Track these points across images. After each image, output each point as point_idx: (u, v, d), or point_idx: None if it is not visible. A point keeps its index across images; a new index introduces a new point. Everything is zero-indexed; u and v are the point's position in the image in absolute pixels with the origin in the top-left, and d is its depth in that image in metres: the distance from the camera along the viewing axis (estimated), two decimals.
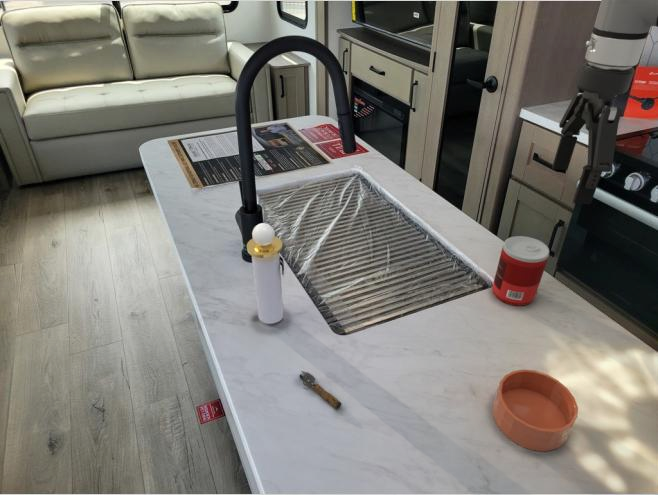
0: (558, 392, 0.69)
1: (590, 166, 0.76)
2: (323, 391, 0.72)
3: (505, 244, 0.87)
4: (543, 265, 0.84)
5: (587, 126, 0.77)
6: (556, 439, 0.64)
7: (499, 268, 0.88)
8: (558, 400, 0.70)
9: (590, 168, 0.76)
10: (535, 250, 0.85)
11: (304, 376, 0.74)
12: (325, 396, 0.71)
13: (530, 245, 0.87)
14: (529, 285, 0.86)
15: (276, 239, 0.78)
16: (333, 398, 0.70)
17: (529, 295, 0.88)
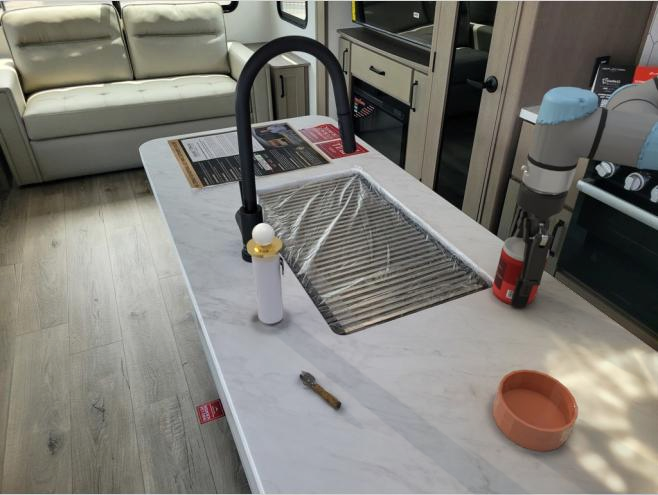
0: (558, 392, 0.69)
1: (522, 279, 0.83)
2: (323, 391, 0.72)
3: (505, 244, 0.87)
4: None
5: (523, 240, 0.82)
6: (556, 439, 0.64)
7: (499, 268, 0.88)
8: (558, 400, 0.70)
9: (522, 280, 0.83)
10: None
11: (304, 376, 0.74)
12: (325, 396, 0.71)
13: None
14: None
15: (276, 239, 0.78)
16: (333, 398, 0.70)
17: None
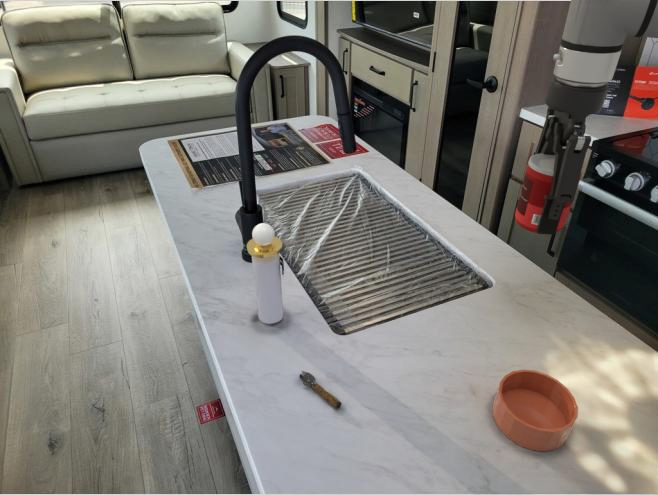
0: (558, 392, 0.69)
1: (551, 197, 0.71)
2: (323, 391, 0.72)
3: (531, 160, 0.74)
4: None
5: (554, 150, 0.70)
6: (556, 439, 0.64)
7: (524, 189, 0.76)
8: (558, 400, 0.70)
9: (551, 198, 0.71)
10: None
11: (304, 376, 0.74)
12: (325, 396, 0.71)
13: None
14: None
15: (276, 239, 0.78)
16: (333, 398, 0.70)
17: None
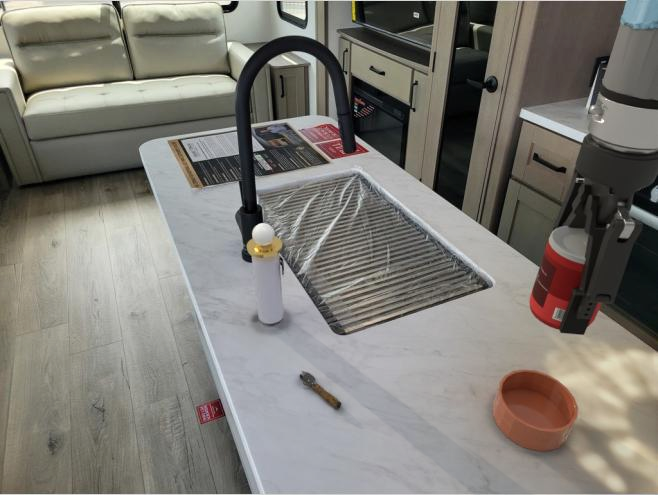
0: (558, 392, 0.69)
1: (582, 293, 0.52)
2: (323, 391, 0.72)
3: (553, 237, 0.56)
4: None
5: (586, 231, 0.51)
6: (556, 439, 0.64)
7: (542, 274, 0.57)
8: (558, 400, 0.70)
9: (582, 295, 0.53)
10: None
11: (304, 376, 0.74)
12: (325, 396, 0.71)
13: None
14: None
15: (276, 239, 0.78)
16: (333, 398, 0.70)
17: None
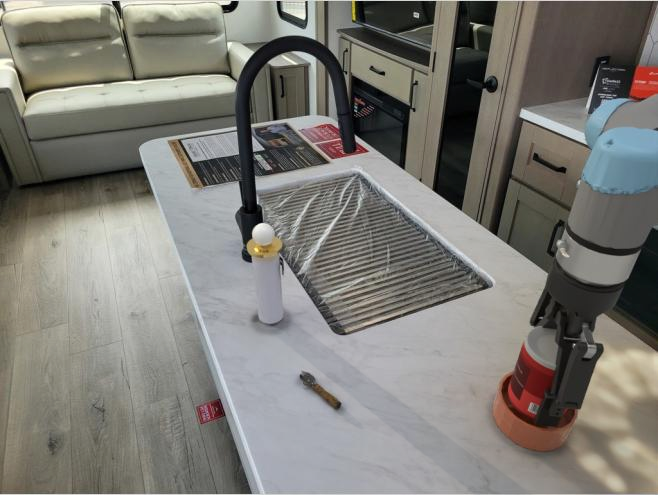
0: None
1: (553, 397, 0.58)
2: (323, 391, 0.72)
3: (528, 340, 0.61)
4: None
5: (556, 342, 0.57)
6: (556, 439, 0.64)
7: (519, 371, 0.63)
8: None
9: (553, 398, 0.58)
10: None
11: (304, 376, 0.74)
12: (325, 396, 0.71)
13: None
14: None
15: (276, 239, 0.78)
16: (333, 398, 0.70)
17: None
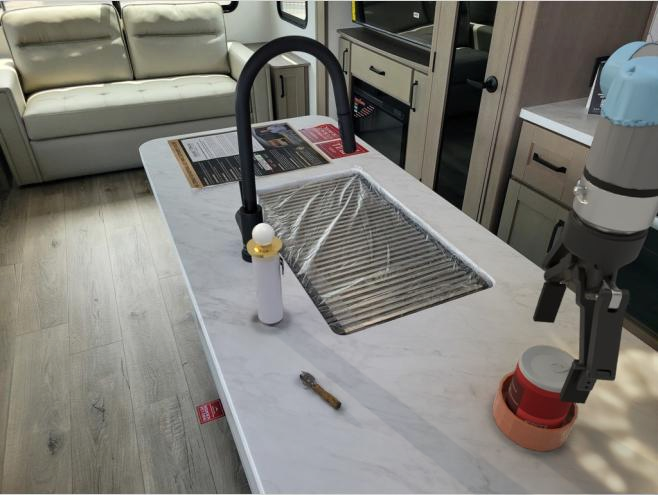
0: None
1: (583, 366, 0.51)
2: (323, 391, 0.72)
3: (522, 360, 0.63)
4: None
5: (577, 302, 0.52)
6: (556, 439, 0.64)
7: (513, 390, 0.65)
8: None
9: (583, 368, 0.51)
10: (563, 370, 0.62)
11: (304, 376, 0.74)
12: (325, 396, 0.71)
13: (556, 361, 0.63)
14: (554, 417, 0.62)
15: (276, 239, 0.78)
16: (333, 398, 0.70)
17: (554, 428, 0.64)
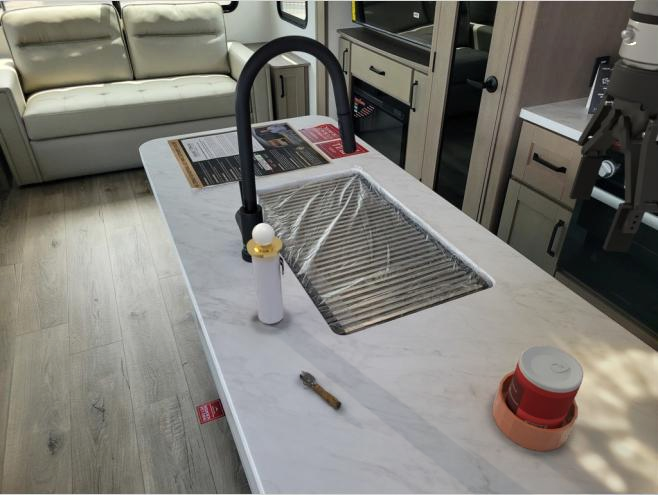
0: None
1: (630, 204, 0.55)
2: (323, 391, 0.72)
3: (522, 360, 0.63)
4: (575, 393, 0.61)
5: (623, 148, 0.56)
6: (556, 439, 0.64)
7: (513, 390, 0.65)
8: None
9: (630, 206, 0.55)
10: (563, 370, 0.62)
11: (304, 376, 0.74)
12: (325, 396, 0.71)
13: (556, 361, 0.63)
14: (554, 417, 0.62)
15: (276, 239, 0.78)
16: (333, 398, 0.70)
17: (554, 428, 0.64)
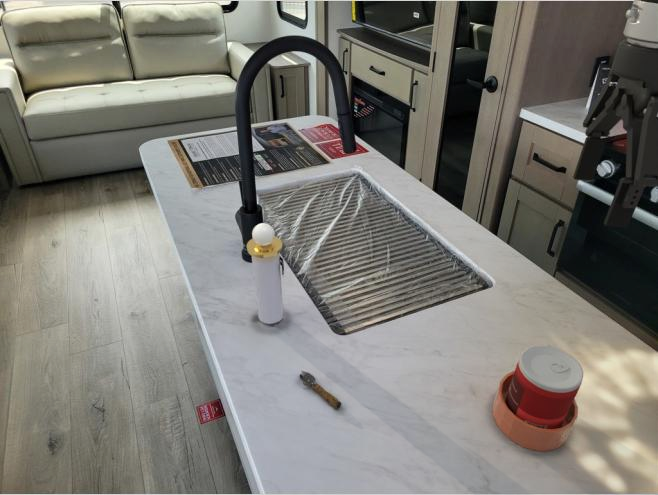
0: None
1: (630, 178, 0.57)
2: (323, 391, 0.72)
3: (522, 360, 0.63)
4: (575, 393, 0.61)
5: (625, 125, 0.58)
6: (556, 439, 0.64)
7: (513, 390, 0.65)
8: None
9: (630, 181, 0.57)
10: (563, 370, 0.62)
11: (304, 376, 0.74)
12: (325, 396, 0.71)
13: (556, 361, 0.63)
14: (554, 417, 0.62)
15: (276, 239, 0.78)
16: (333, 398, 0.70)
17: (554, 428, 0.64)
